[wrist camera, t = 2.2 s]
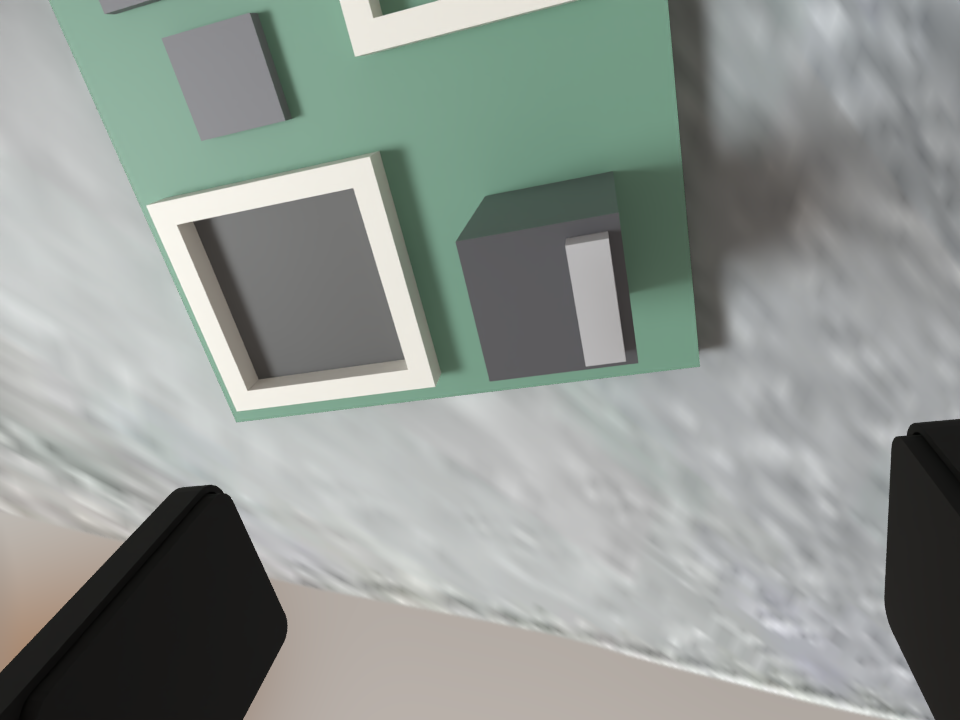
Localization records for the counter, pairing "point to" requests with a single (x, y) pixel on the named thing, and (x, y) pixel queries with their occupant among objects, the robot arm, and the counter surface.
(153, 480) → the counter surface
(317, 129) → the board
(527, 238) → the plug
